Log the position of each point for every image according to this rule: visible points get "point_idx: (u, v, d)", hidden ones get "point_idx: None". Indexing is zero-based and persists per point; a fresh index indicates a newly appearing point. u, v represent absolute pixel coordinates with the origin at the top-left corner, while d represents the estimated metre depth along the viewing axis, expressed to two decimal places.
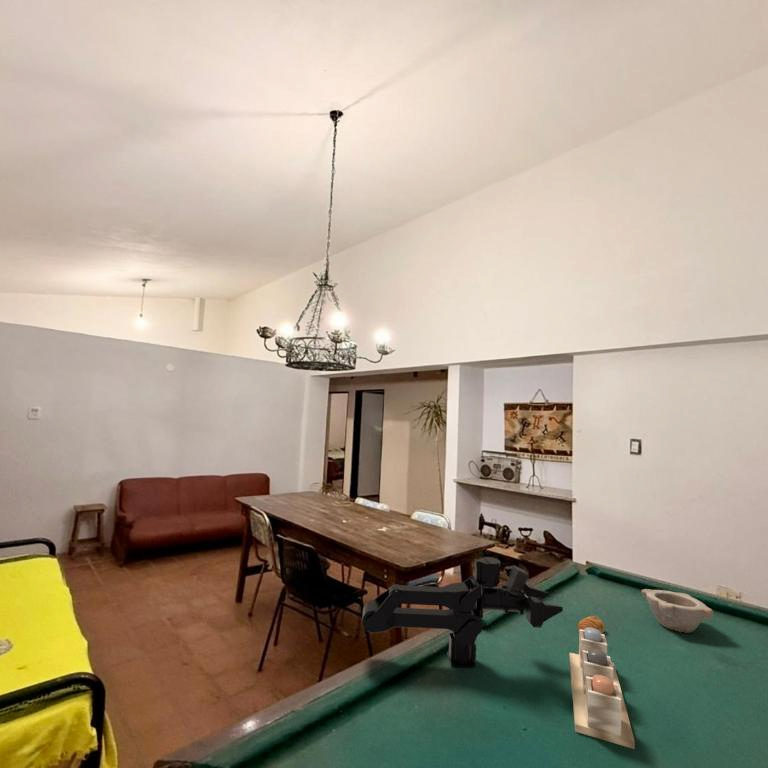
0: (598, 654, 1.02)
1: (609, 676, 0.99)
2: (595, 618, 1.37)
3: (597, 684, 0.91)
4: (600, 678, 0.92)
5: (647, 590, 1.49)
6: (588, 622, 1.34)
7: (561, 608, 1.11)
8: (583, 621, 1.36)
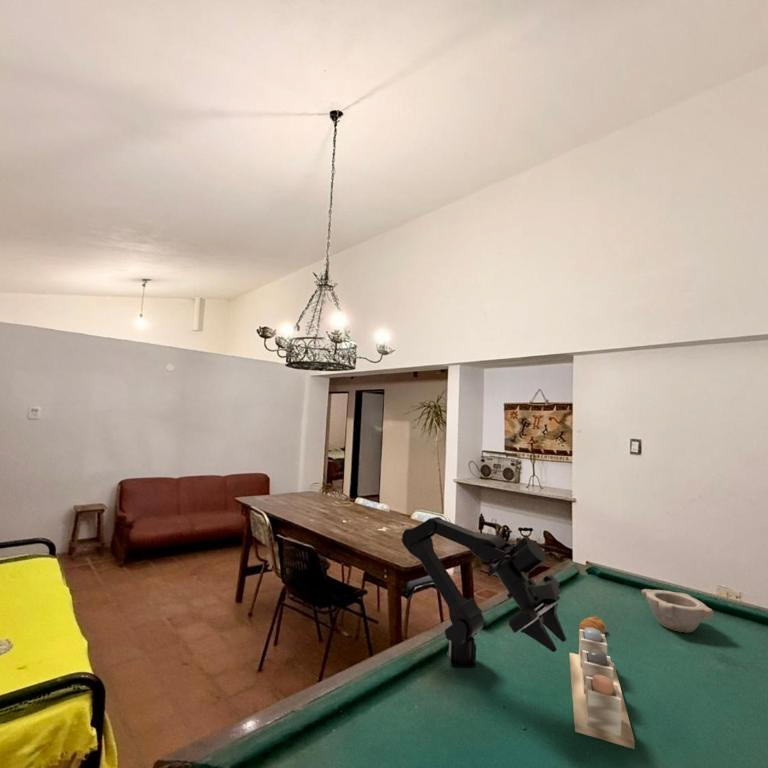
0: (598, 654, 1.02)
1: (609, 676, 0.99)
2: (596, 618, 1.37)
3: (597, 684, 0.91)
4: (600, 678, 0.92)
5: (647, 590, 1.49)
6: (589, 623, 1.34)
7: (554, 649, 0.96)
8: (584, 622, 1.36)
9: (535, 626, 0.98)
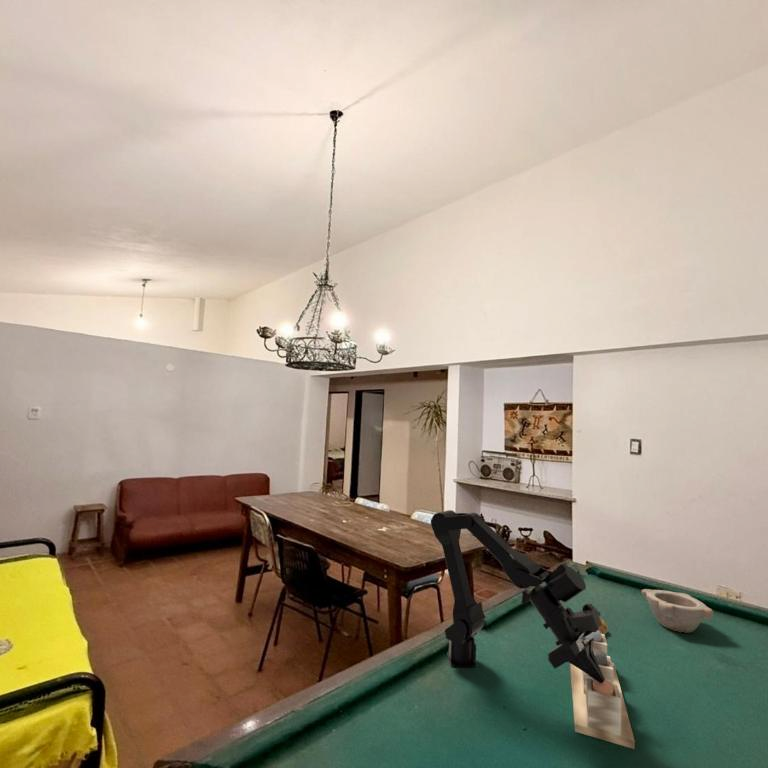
0: (598, 654, 1.02)
1: (609, 676, 0.99)
2: None
3: (597, 687, 0.91)
4: None
5: (647, 590, 1.49)
6: None
7: (601, 680, 0.92)
8: None
9: (580, 655, 0.94)
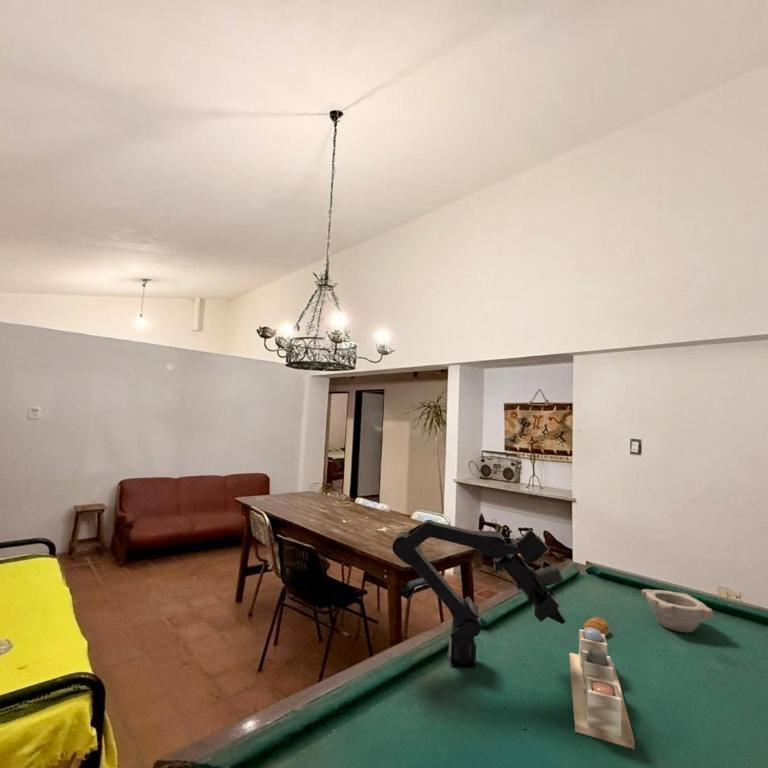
0: (598, 654, 1.02)
1: (609, 676, 0.99)
2: (600, 619, 1.36)
3: None
4: (600, 686, 0.92)
5: (647, 590, 1.49)
6: (593, 624, 1.33)
7: (563, 621, 1.10)
8: (588, 623, 1.35)
9: None
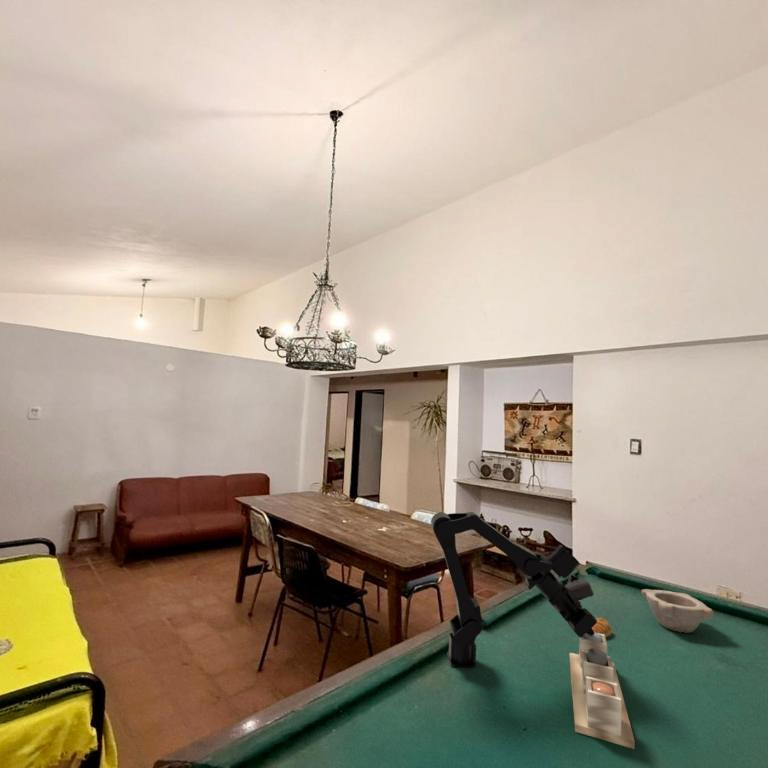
0: (598, 654, 1.02)
1: (609, 676, 0.99)
2: (602, 620, 1.36)
3: None
4: (600, 686, 0.92)
5: (647, 590, 1.49)
6: (596, 625, 1.33)
7: (593, 633, 1.14)
8: None
9: None
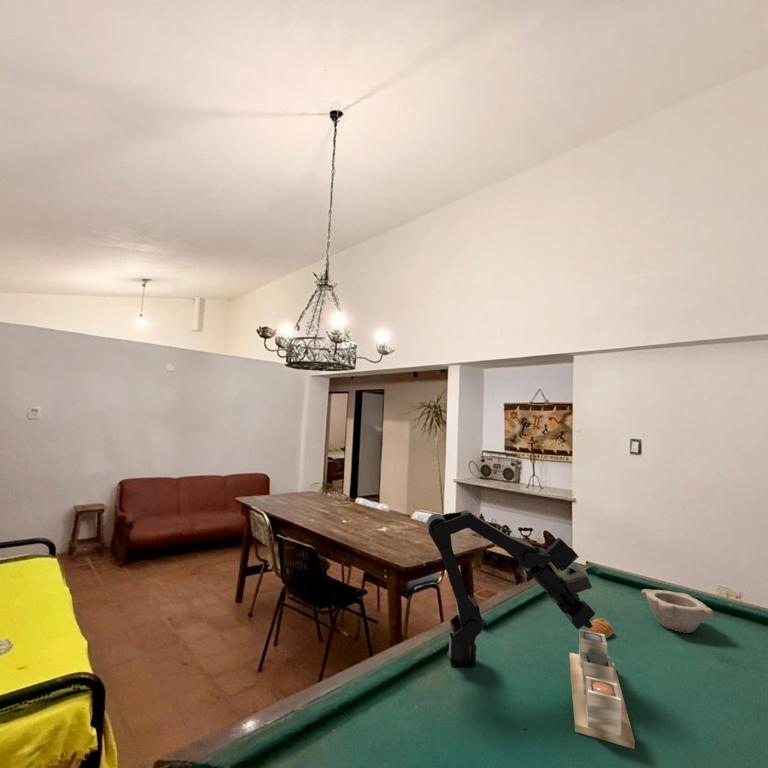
0: (598, 654, 1.02)
1: (609, 676, 0.99)
2: (603, 620, 1.36)
3: None
4: (600, 686, 0.92)
5: (647, 590, 1.49)
6: (597, 625, 1.33)
7: (591, 625, 1.14)
8: (592, 624, 1.34)
9: None
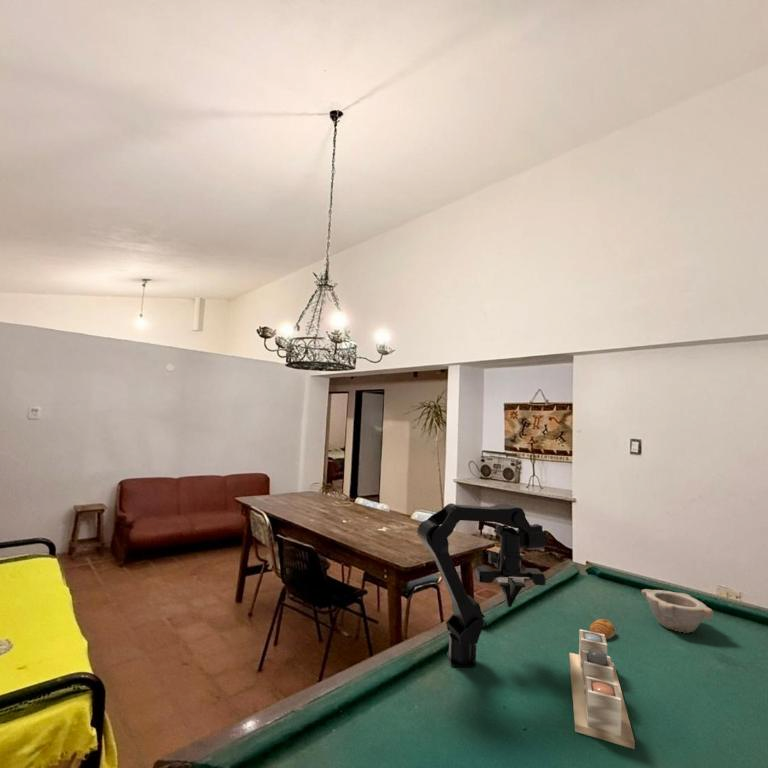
0: (598, 654, 1.02)
1: (609, 676, 0.99)
2: (605, 621, 1.35)
3: None
4: (600, 686, 0.92)
5: (647, 590, 1.49)
6: (600, 626, 1.32)
7: None
8: (595, 625, 1.34)
9: None
